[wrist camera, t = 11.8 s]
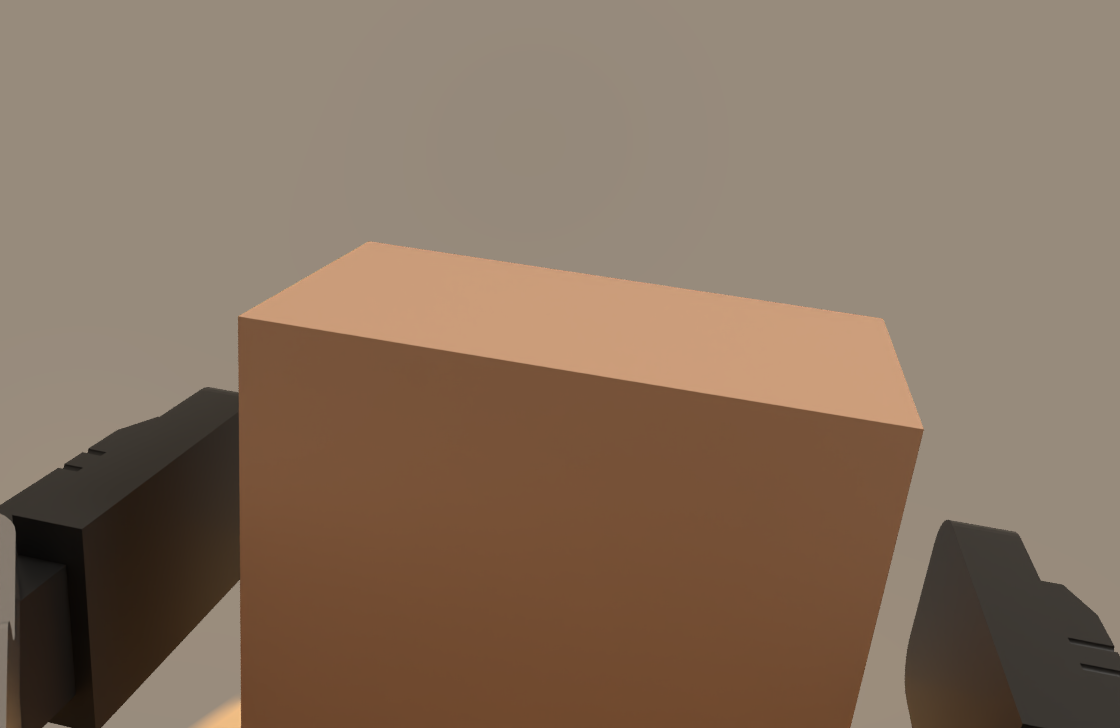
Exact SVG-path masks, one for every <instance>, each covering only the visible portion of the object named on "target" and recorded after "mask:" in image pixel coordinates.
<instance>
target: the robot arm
mask: <svg viewBox="0 0 1120 728" xmlns="http://www.w3.org/2000/svg"><path fill="white" fill-rule="evenodd" d="M239 580H240V493H239V393H238V392H233V391H227V390H222V389H216V388H210V387H206V388H203V389H201V390H200V391H198V392H197V393H195V394H194V395H192V396H191V397H189V398H188V399H186V400H185V401H183V402H181V403H180V404H178V405H177V406H176V407H174V408H173V409H171V410H169V411H168V412H166V413H165V414H164V415H162V416H160V417H156V418H153V419H150V420H147V421H144V422H141V423H138V424H135V425H132V426H129V427H126V428H122V429H119V430H117V431H116V432H114V433H112V434H111V435H109V436H108V437H106V438H104V439H103V440H101V441H100V442H98V443H97V444H95V445H94V446H92V447H90V448H89V449H88V453H81V454H79V455H78V456H76V457H75V458H73V459H72V460H70V461H68V462H67V463H65V465H64V468H63V469H61V468H57V469H56V470H54V471H53V472H51V473H50V474H48V475H47V476H45V477H43V478H42V479H40V480H39V481H37V482H36V483H34V484H32V485H31V486H29V487H28V488H26V489H25V490H23V491H22V492H20V493H18V494H17V495H15V496H14V497H12V498H11V499H9V500H7V501H6V502H4V503H3V504H1V505H0V728H42V727H43V726H44V725H46V724H47V722H50V723H54V724H58V725H63V726H67V727H71V728H101V727H102V726H103V725H104V724H105V723H106V722H107V721H108V720H109V718H111V716H112V715H113V714H114V713H115V712H116V711H117V710H118V709H119V708H120V707H121V706H122V705H123V704H124V703H125V702H126V701H127V699H128V698H129V697H130V696H131V695H132V694H133V693H134V692H135V691H136V690H137V689H138V688H139V687H140V685H141V684H142V683H143V682H144V681H145V680H146V679H147V678H148V677H149V676H150V675H151V674H152V673H153V672H154V671H155V669H156V668H157V667H158V666H159V665H160V664H161V663H162V662H163V661H164V660H165V659H166V658H167V656H169V655H170V653H171V652H172V651H173V650H174V649H175V648H176V647H177V646H178V645H179V644H180V642H182V641H183V639H185V637H186V636H187V635H188V634H189V633H190V632H191V631H192V630H193V629H194V628H195V627H196V626H197V624H198V623H200V621H201V620H202V619H203V618H204V617H205V616H206V615H207V614H208V613H209V612H210V611H211V609H213V607H214V606H215V605H216V604H217V603H218V602H219V601H220V600H221V599H222V598H223V597H224V596H225V595H226V594H227V592H228V591H229V590H230V589H231V588H232V587H233V586H234V585H235V584H236V583H237V582H238V581H239ZM905 693H906V699H907V704H908V709H909V714H910V719H911V724H912V728H1120V656H1119V654H1118V653H1117V652H1114V645H1113V643H1112V641H1111V639H1110V638H1109V636H1108V634H1107V632H1106V630H1105V628H1104V626H1103V624H1102V623H1101V621H1100V619H1099V617H1098V615H1096V613H1094V612H1093V611H1092V610H1091V609H1090V608H1089V607H1087V606H1086V605H1085V604H1084V603H1083V602H1082V601H1081V600H1080V599H1078V598H1077V597H1076V596H1075V595H1074V594H1073V593H1071V592H1070V591H1069V590H1068V589H1067V588H1066V587H1065V586H1064V585H1061V584H1056V583H1050V582H1044V581H1041V580H1040V578H1039V576H1038V574H1037V572H1036V570H1035V568H1034V566H1033V563H1032V561H1031V559H1030V557H1029V555H1028V553H1027V551H1026V549H1025V547H1024V545H1023V542H1022V540H1021V538H1020V536H1019V535H1018V534H1017V533H1016V532H1013V531H1007V530H1002V529H996V528H990V527H984V526H979V525H973V524H968V523H962V522H957V521H951V520H946V521H944V522H943V524H942V526H941V527H940V529H939V531H938V534H937V537H936V540H935V543H934V547H933V551H932V555H931V558H930V563H929V566H928V570H927V574H926V577H925V581H924V585H923V589H922V593H921V597H920V601H919V604H918V608H917V612H916V616H915V619H914V623H913V627H912V631H911V635H910V639H909V644H908V649H907V656H906V665H905Z"/></svg>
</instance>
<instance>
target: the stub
mask: <svg viewBox="0 0 1120 728" xmlns="http://www.w3.org/2000/svg"><path fill="white" fill-rule="evenodd" d="M238 354H239V355H238V362H239V493H240V617H241V618H240V620H241V621H240V624H241V728H850V726H851V723H852V718H853V714H854V710H855V706H856V702H857V698H858V694H859V690H860V686H861V682H862V677H863V674H864V670H865V666H866V662H867V658H868V654H869V649H870V645H871V641H872V637H873V633H874V629H875V625H876V621H877V617H878V613H879V609H880V605H881V601H882V597H883V593H884V589H885V584H886V580H887V576H888V573H889V568H890V564H891V560H892V556H893V552H894V548H895V544H896V540H897V536H898V532H899V528H900V524H901V520H902V516H903V511H904V508H905V503H906V499H907V495H908V491H909V487H910V483H911V479H912V475H913V471H914V467H915V463H916V459H917V455H918V451H919V446H920V443H921V439H922V435H923V431H924V428H923V426H922V423H921V420H920V418H919V415H918V412H917V410H916V407H915V404H914V401H913V399H912V396H911V393H910V391H909V388H908V385H907V382H906V380H905V377H904V374H903V371H902V369H901V366H900V363H899V361H898V358H897V355H896V352H895V350H894V347H893V344H892V341H891V339H890V336H889V334H888V331H887V328H886V325H885V322H884V320H883V319H882V318H875V317H869V316H862V315H855V314H848V313H842V312H835V311H828V310H822V309H815V308H809V307H802V306H795V305H789V304H782V303H776V302H769V301H762V300H755V299H749V298H742V297H735V296H729V295H722V294H716V293H708V292H701V291H696V290H689V289H682V288H675V287H669V286H662V285H656V284H649V283H642V282H635V281H629V280H622V279H616V278H609V277H601V276H596V275H589V274H582V273H575V272H569V271H562V270H556V269H548V268H542V267H536V266H529V265H522V264H515V263H509V262H503V261H496V260H489V259H482V258H476V257H469V256H463V255H456V254H449V253H443V252H436V251H429V250H423V249H416V248H409V247H403V246H396V245H389V244H383V243H376V242H367V243H365V244H363V245H362V246H360V247H358V248H356V249H355V250H353V251H352V252H349V253H348V254H346V255H344V256H342V257H341V258H339V259H337V260H335V261H334V262H332V263H330V264H328V265H327V266H325V267H323V268H321V269H320V270H318V271H316V272H314V273H313V274H311V275H309V276H308V277H306V278H304V279H302V280H301V281H299V282H297V283H296V284H294V285H292V286H290V287H288V288H287V289H285V290H283V291H282V292H280V293H278V294H276V295H274V296H273V297H271V298H269V299H267V300H266V301H264V302H262V303H261V304H259V305H257V306H255V307H254V308H252V309H250V310H249V311H247V312H245V313H243V314H241V315H240V316H238Z"/></svg>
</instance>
